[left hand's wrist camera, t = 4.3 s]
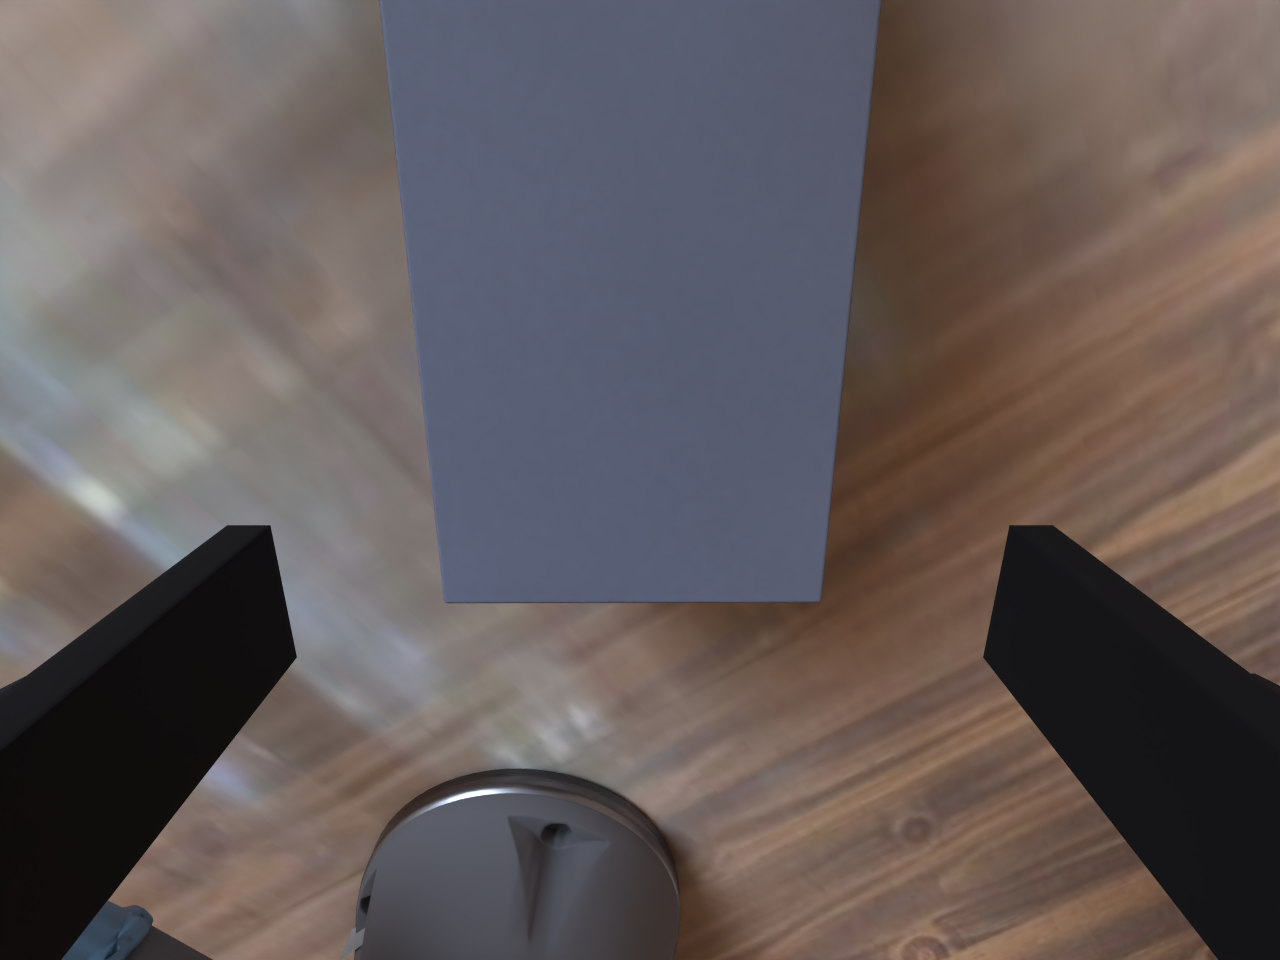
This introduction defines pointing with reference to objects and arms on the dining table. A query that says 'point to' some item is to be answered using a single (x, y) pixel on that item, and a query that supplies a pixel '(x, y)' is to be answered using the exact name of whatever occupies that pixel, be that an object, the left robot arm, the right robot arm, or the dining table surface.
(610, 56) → the cabinet
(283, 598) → the left robot arm
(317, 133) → the dining table surface
